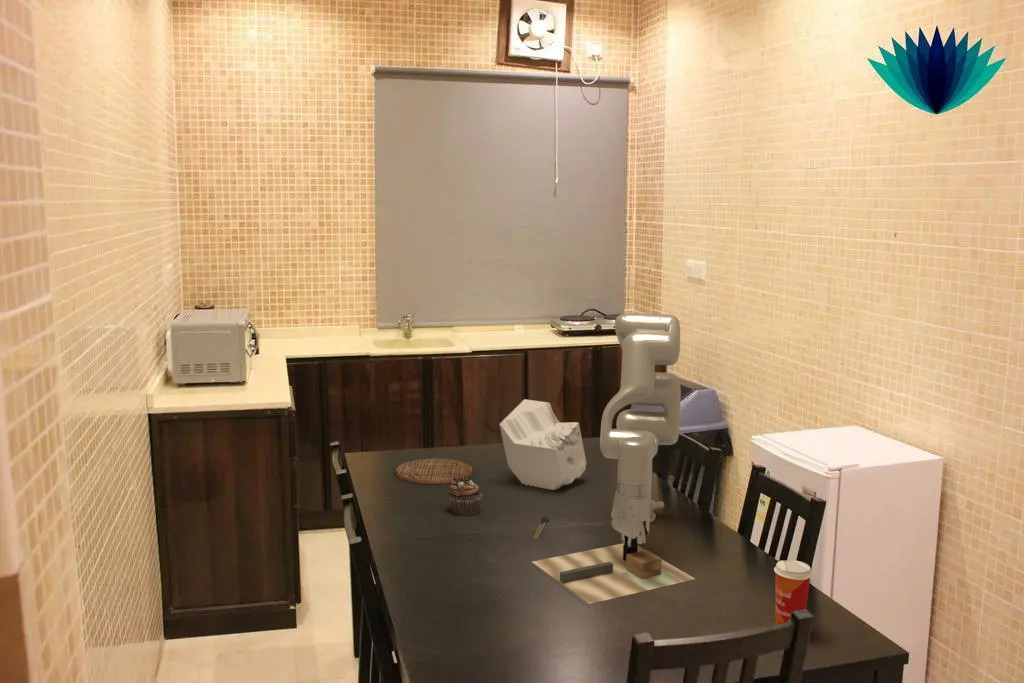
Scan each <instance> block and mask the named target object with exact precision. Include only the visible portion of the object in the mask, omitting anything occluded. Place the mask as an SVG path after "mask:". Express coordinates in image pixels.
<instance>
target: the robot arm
mask: <svg viewBox="0 0 1024 683" xmlns="http://www.w3.org/2000/svg"><path fill="white" fill-rule="evenodd" d="M614 331H615V334H616V337H617V341H618V343H619V345H620V348H621V350H622V351H621V355H622V356H621V371H620V372H621V373H620V388H619V391H617V393H616V394H615V395H613V397H612V398H611V399H610V400H609V401H608V403H607V404H606V406H605V408H604V410H603V413H602V416H601V422H600V423H601V424H600V425H601V426H600V435H599V436H600V439H599V448H600V452H601V455H602V456H603V457H604V458H607V459H611V460H613V459H614V460H617V480H616V481H617V482H616V483H617V484H616V490H615V492H614V493H615V494H614V498H613V504H612V510H611V512H610V515H611V527H612V528H613V529H614V530H615V531H617V532H618V533H619V534H620V535H621V544H622V543H623V544H624V545H623V560H624V561H626V554H630V553H634V552H638V546H639V547H640V545H643V544H646V543H647V540H646V537H648V536H649V534H650V525H651V524H650V523H653V522H655V520H656V513H655V512H654V511H655V510H656V509H663V508H664V507H665V502H664V501H662V500H661V501H655V500H653V499H652V479H653V478H652V477H653V475H652V474H653V458H654V457H655V456H656V455H657V453H658V450H659V446H663V445H664V446H665V445H666V446H671V445H674V444H676V443H677V442H678V440H679V436H680V426H681V425H680V424H681V423H680V422H681V397H682V396H681V394H682V391H681V390H682V389H681V388H682V387H681V382H680V379H679V377H678V376H677V375H676V374H675V373H671V372H658V371H655V367H656V366H674V365H676V363H677V362H678V360H679V357H680V354H681V353H680V351H681V324H680V320H679V318H678V317H677V316H676V315H673V314H666V313H665V314H663V313H661V314H660V313H644V312H643V313H642V312H640V313H639V312H638V313H637V312H629V313H622V314H619V315H618V316H617V317H616V318H615V320H614ZM628 405H633V406H640V407H641V406H645V407H661V408H662V409H663V410H654V409H639V408H637V409H636V408H632V409H631V408H629V409H625V410H623V411H621V412H620V413H619V414H618V415H617V418H616V428H613V420H614V417H615V415H616V414H617V413H618V412H619V411H620V410H621V409H623V408H624V407H626V406H628Z"/></svg>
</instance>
